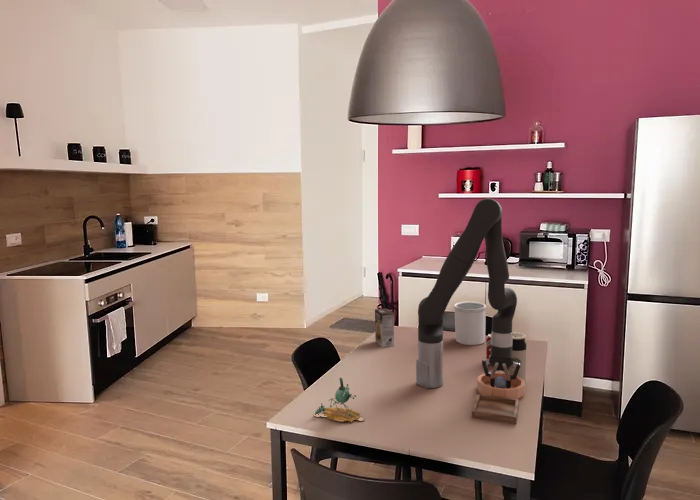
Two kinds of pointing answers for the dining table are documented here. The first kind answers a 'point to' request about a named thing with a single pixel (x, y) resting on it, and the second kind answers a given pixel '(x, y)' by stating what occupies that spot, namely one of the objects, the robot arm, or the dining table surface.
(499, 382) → the ball
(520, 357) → the travel mug
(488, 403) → the tray
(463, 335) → the utensil holder
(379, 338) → the coffee box
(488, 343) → the soda can
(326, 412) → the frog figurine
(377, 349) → the dining table surface
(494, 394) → the bowl
